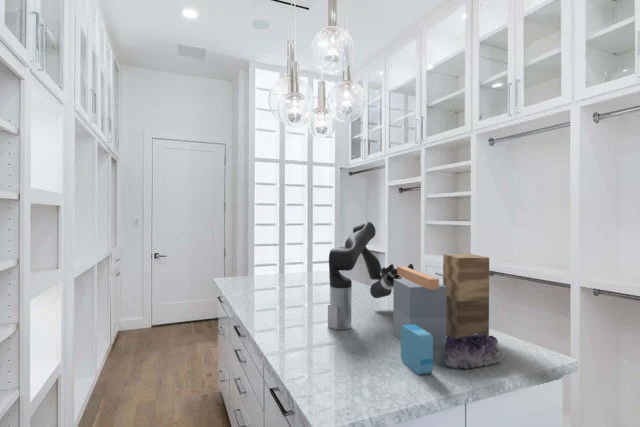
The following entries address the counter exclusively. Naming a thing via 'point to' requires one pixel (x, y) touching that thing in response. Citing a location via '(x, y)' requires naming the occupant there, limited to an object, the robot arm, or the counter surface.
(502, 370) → the counter surface
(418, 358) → the blue flat block
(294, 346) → the counter surface
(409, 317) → the low stand
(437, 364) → the counter surface
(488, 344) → the geode
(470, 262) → the tall tower
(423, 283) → the bar
